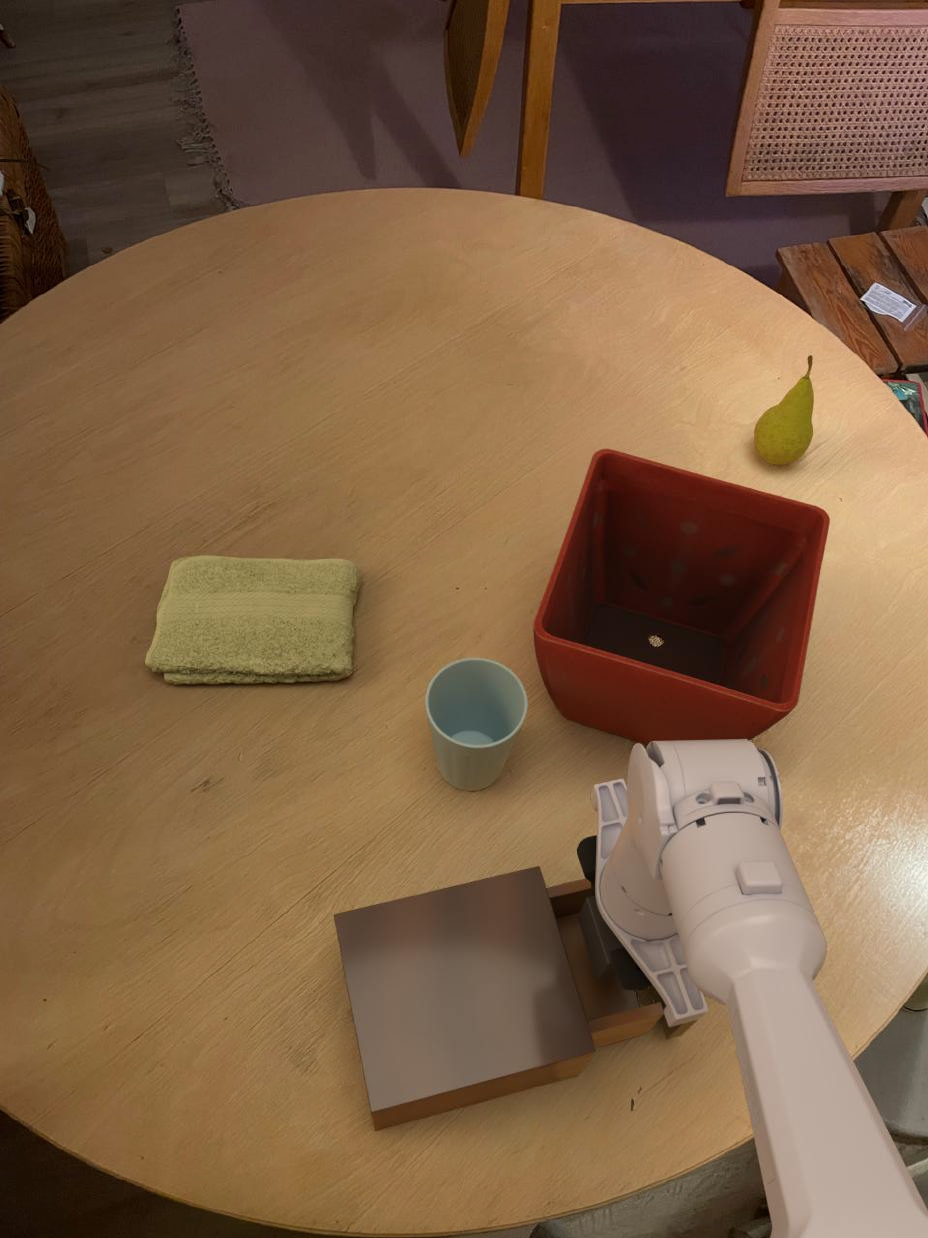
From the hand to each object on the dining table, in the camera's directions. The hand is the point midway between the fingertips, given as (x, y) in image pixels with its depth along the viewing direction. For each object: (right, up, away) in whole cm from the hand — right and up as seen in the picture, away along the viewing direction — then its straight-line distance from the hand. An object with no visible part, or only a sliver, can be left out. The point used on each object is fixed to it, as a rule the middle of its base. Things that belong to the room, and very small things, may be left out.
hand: (621, 936), depth 69 cm
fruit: (+21, +38, +37) cm, 57 cm away
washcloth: (-29, +20, +24) cm, 42 cm away
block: (0, -1, +1) cm, 1 cm away
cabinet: (-11, -7, +6) cm, 15 cm away
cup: (-10, +9, +17) cm, 22 cm away
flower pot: (+5, +16, +22) cm, 28 cm away
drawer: (-1, -5, +7) cm, 9 cm away
